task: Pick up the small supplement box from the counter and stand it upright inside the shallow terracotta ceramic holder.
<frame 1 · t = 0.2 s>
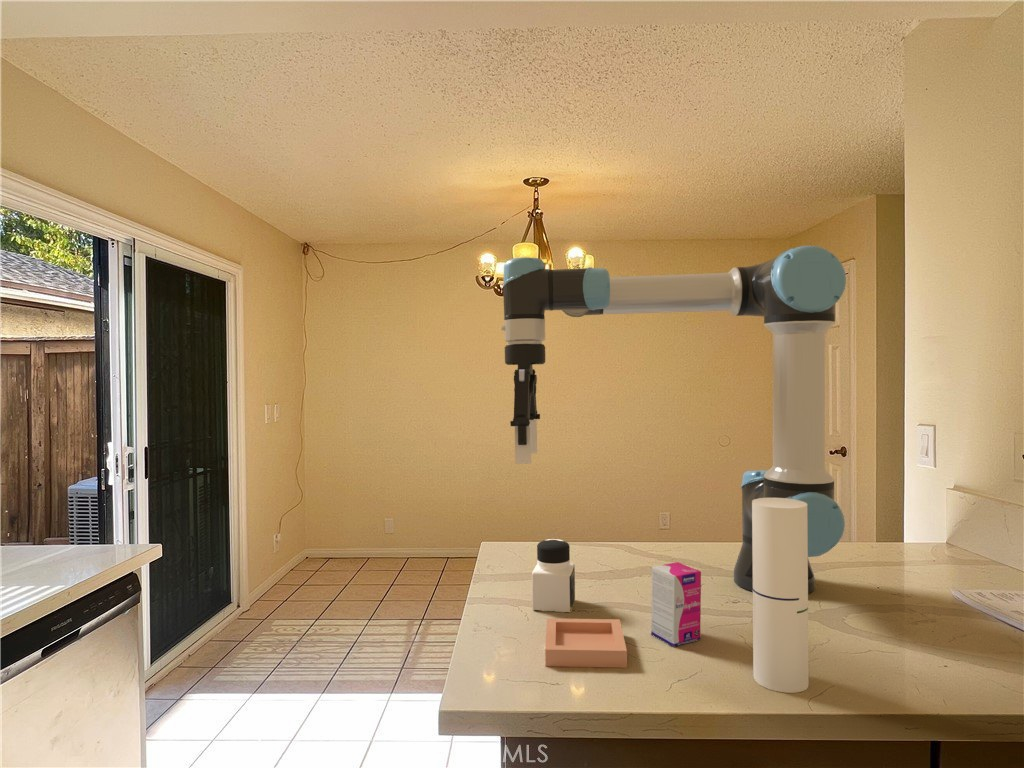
hand: (526, 458, 121), 28 cm above the worktop, tool pointing down, fingers open, 13 cm apart
medicine bottle: (554, 606, 122), on the worktop
cylindrical container: (780, 681, 91), on the worktop
supplement box: (676, 639, 106), on the worktop
ceramic holder: (584, 649, 102), on the worktop
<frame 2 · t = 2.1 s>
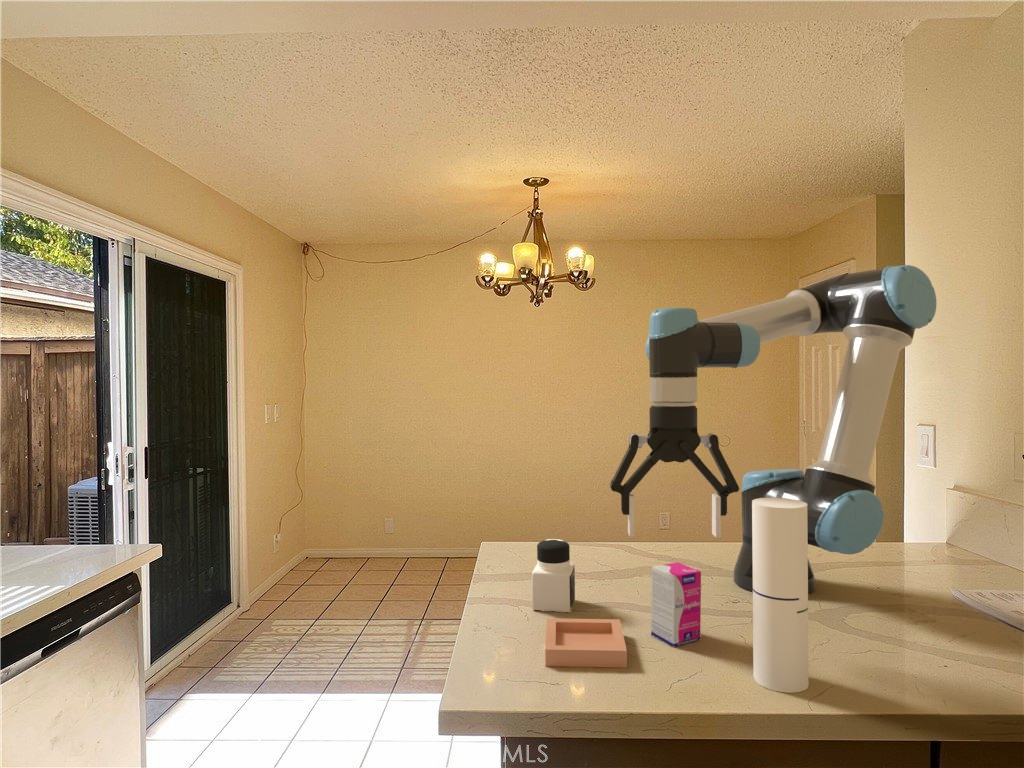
hand: (673, 535, 106), 17 cm above the worktop, tool pointing down, fingers open, 13 cm apart
nothing on the worktop moved.
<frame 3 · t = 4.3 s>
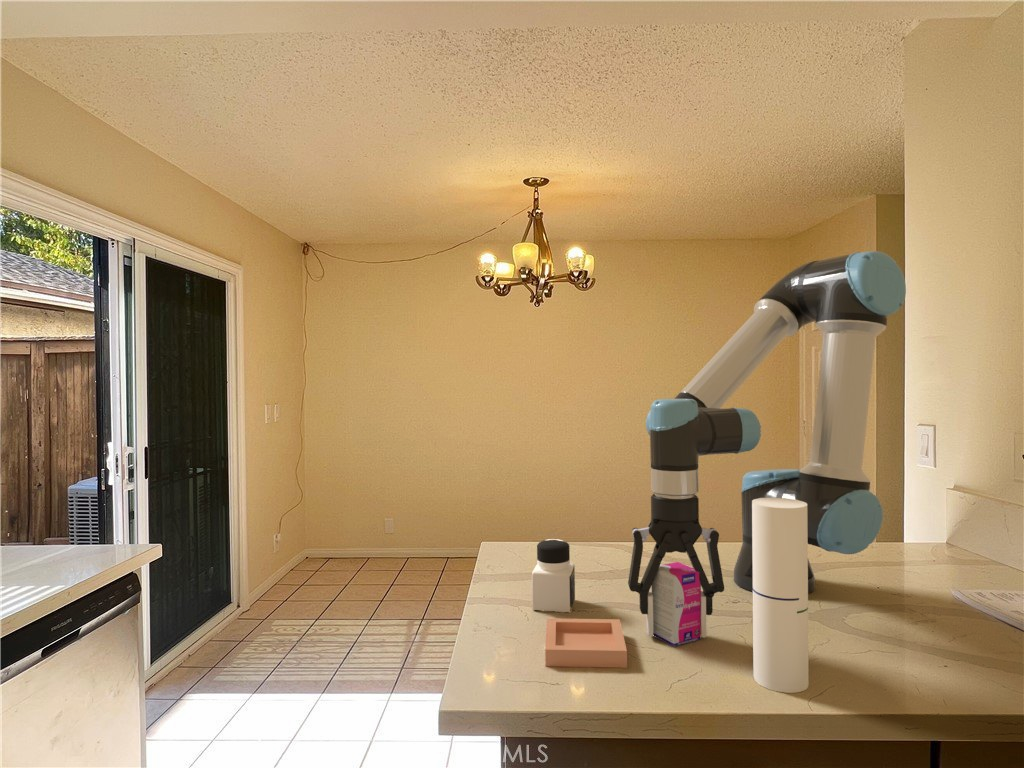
hand: (675, 633, 106), 1 cm above the worktop, tool pointing down, fingers closed on supplement box, 8 cm apart
supplement box: (676, 638, 106), on the worktop, touching gripper
everything else where it was.
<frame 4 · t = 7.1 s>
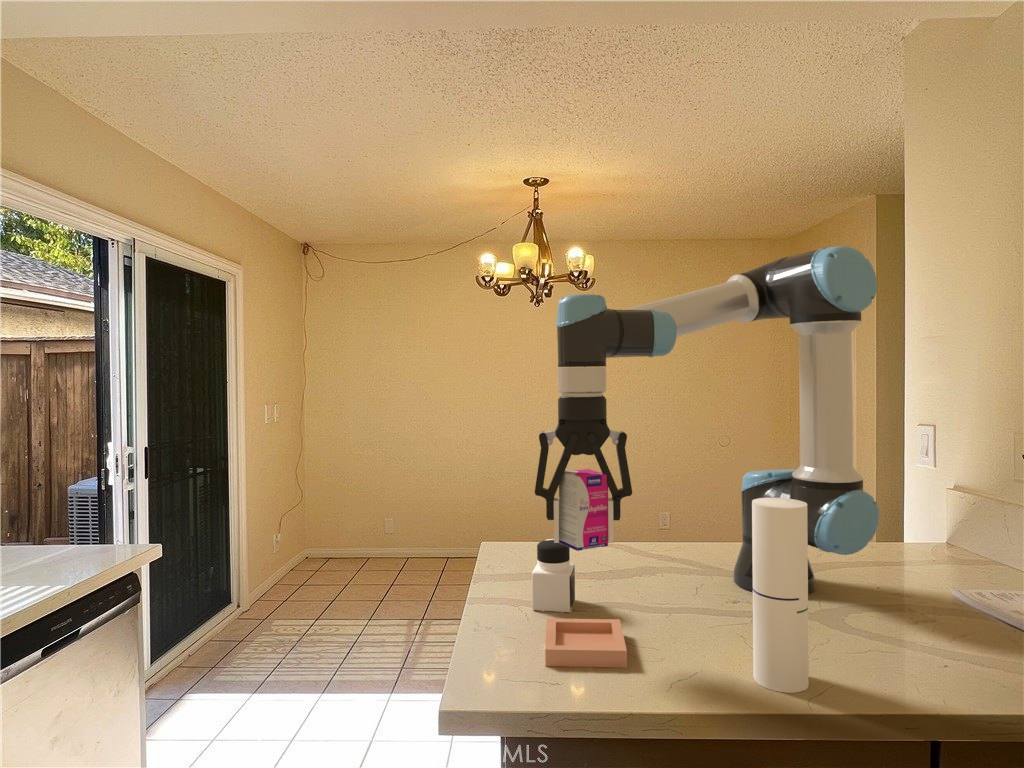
hand: (583, 540, 102), 17 cm above the worktop, tool pointing down, fingers closed on supplement box, 8 cm apart
supplement box: (583, 546, 102), point 16 cm above the worktop, touching gripper
everything else where it was.
when the fingers open (4 cm above the worktop, at t = 9.8 s): supplement box drops 2 cm, resting on ceramic holder.
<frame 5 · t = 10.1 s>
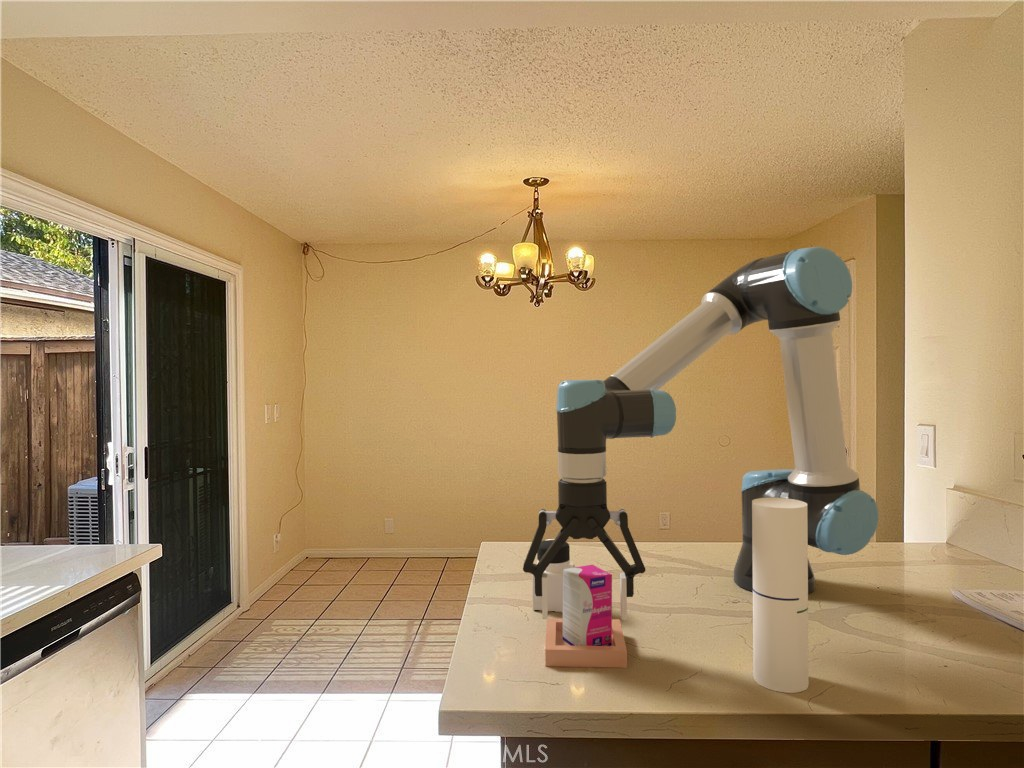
hand: (584, 616, 102), 5 cm above the worktop, tool pointing down, fingers open, 11 cm apart
supplement box: (587, 644, 102), point 1 cm above the worktop, touching ceramic holder
everything else where it was.
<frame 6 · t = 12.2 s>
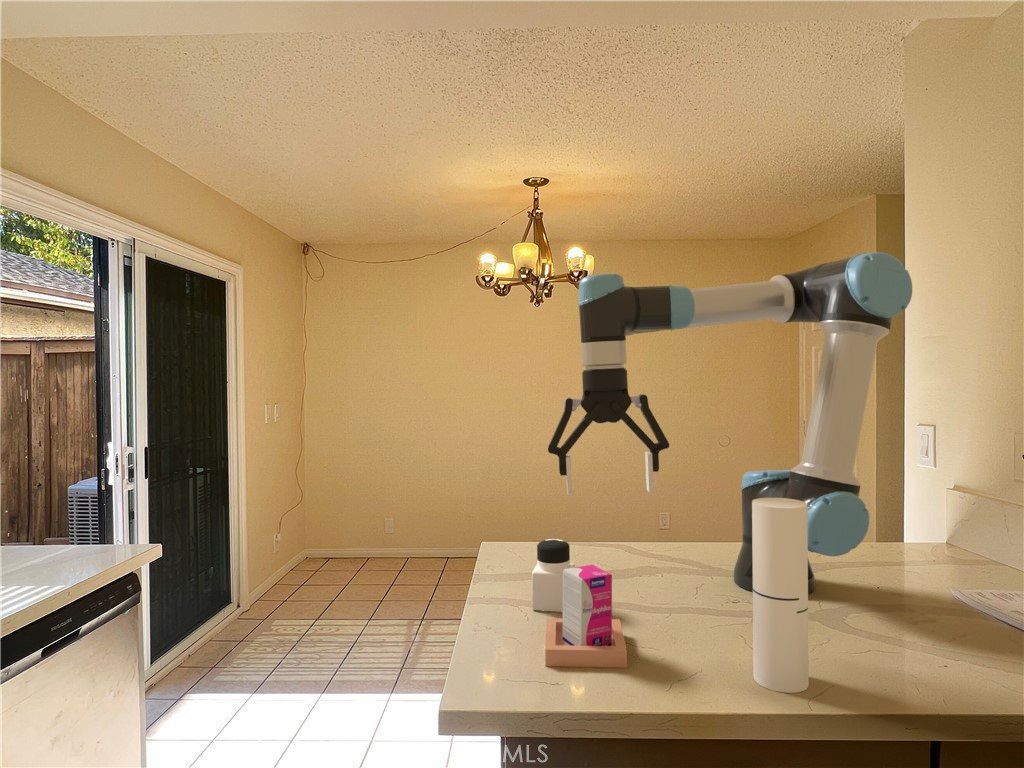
hand: (609, 492, 110), 23 cm above the worktop, tool pointing down, fingers open, 13 cm apart
nothing on the worktop moved.
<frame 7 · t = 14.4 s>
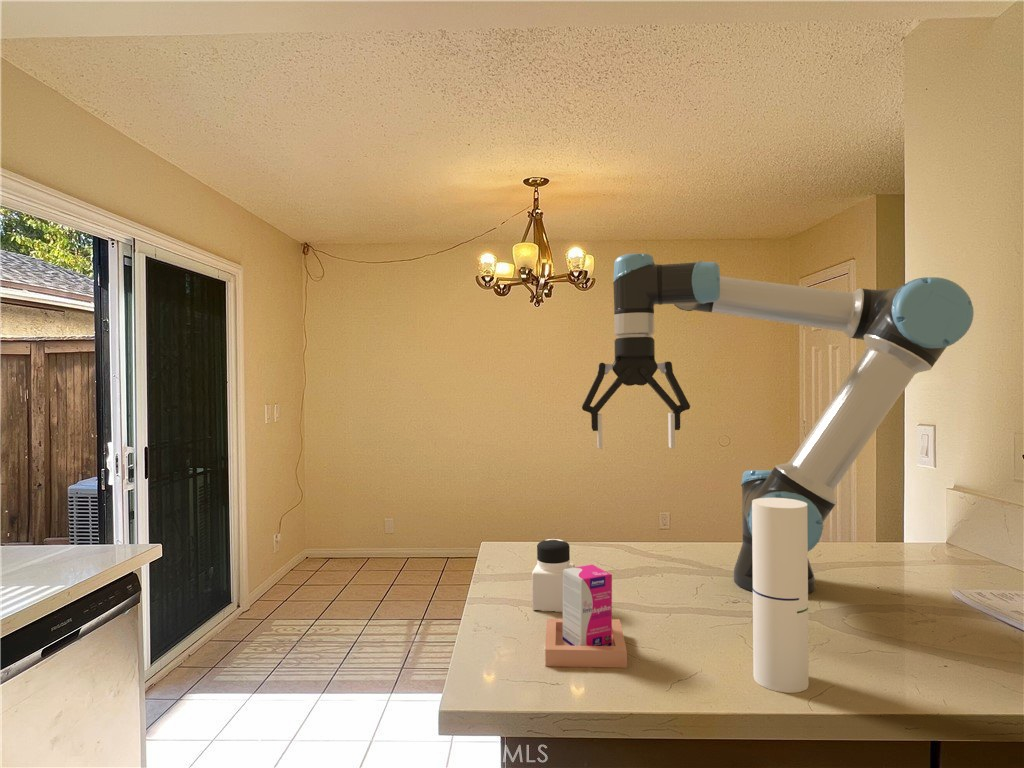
hand: (635, 448, 125), 29 cm above the worktop, tool pointing down, fingers open, 13 cm apart
nothing on the worktop moved.
at the end: supplement box 0.4 cm off-centre on the ceramic holder, point 0.8 cm above the ceramic holder's base; supplement box tilted 0°; the gripper is holding nothing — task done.
